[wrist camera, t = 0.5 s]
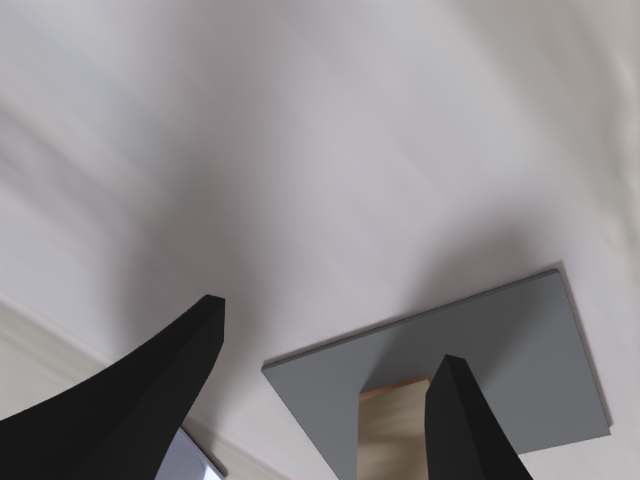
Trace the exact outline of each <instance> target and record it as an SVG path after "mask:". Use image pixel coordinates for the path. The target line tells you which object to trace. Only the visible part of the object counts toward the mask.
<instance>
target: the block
mask: <svg viewBox="0 0 640 480" xmlns="http://www.w3.org/2000/svg"><path fill="white" fill-rule="evenodd" d="M430 384H431V382H430V381H429V379H428V377H427V375H425V376H421V377H418V378H414V379H411V380H407V381H404V382H400V383H397V384H393V385H390V386H386V387H383V388H379V389H376V390H372V391H369V392H365V393H362V394H359V402H358V439H357V475H356V480H429V479H428V467H427V455H426V443H425V430H424V417H425V394H426V392H427V390H428V388H429V386H430Z"/></svg>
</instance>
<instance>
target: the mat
mask: <svg viewBox="0 0 640 480" xmlns="http://www.w3.org/2000/svg"><path fill="white" fill-rule="evenodd" d="M445 354H448V355H452V356H456V357H460V358H464V359H465V360H466V361H467V363H468V365H469V367H470V369H471V371H472V373H473V375H474V377H475V379H476V381H477V383H478V385H479V387H480V389H481V391H482V393H483V395H484V397H485V399H486V401H487V403H488V405H489V406H490V408H491V410H492V412H493V414H494V416H495V417H496V419H497V421H498V423H499V425H500V426H501V428H502V430H503V432H504V434H505V435H506V437H507V439H508V440H509V442H510V444H511V445H512V447H513V449H514V450H515V452H516V454H517V455H518V454H523V453H528V452H533V451H537V450H542V449H547V448H551V447H556V446H561V445H566V444H570V443H575V442H580V441H584V440H589V439H594V438H599V437H603V436H608V435H611V433H610V430H609V427H608V424H607V420H606V417H605V414H604V411H603V408H602V405H601V402H600V398H599V395H598V392H597V389H596V386H595V383H594V380H593V376H592V373H591V370H590V367H589V364H588V361H587V357H586V354H585V351H584V348H583V345H582V342H581V339H580V335H579V332H578V329H577V326H576V323H575V320H574V316H573V313H572V310H571V307H570V304H569V301H568V298H567V294H566V291H565V288H564V285H563V282H562V279H561V276H560V272H559V271H558V270H557V269H554V270H551V271H548V272H545V273H542V274H539V275H536V276H533V277H530V278H527V279H524V280H521V281H518V282H515V283H512V284H509V285H506V286H503V287H500V288H497V289H494V290H491V291H488V292H485V293H482V294H479V295H476V296H473V297H470V298H467V299H464V300H461V301H458V302H455V303H452V304H449V305H446V306H443V307H440V308H437V309H434V310H431V311H428V312H425V313H422V314H419V315H416V316H413V317H410V318H407V319H404V320H401V321H398V322H395V323H392V324H389V325H386V326H383V327H380V328H377V329H374V330H371V331H368V332H365V333H362V334H359V335H356V336H353V337H350V338H347V339H344V340H341V341H338V342H335V343H332V344H329V345H326V346H323V347H320V348H317V349H314V350H311V351H308V352H305V353H302V354H299V355H296V356H293V357H290V358H287V359H284V360H281V361H278V362H275V363H272V364H269V365H266V366H263V367H262V369H261V372H262V373H263V374H264V376H265V377H266V379H267V380H268V381H269V383H270V384H271V386H272V387H273V388H274V390H275V391H276V393H277V394H278V395H279V397H280V398H281V399H282V401H283V402H284V404H285V405H286V406H287V408H288V409H289V411H290V412H291V413H292V415H293V416H294V418H295V419H296V420H297V422H298V423H299V425H300V426H301V427H302V429H303V430H304V432H305V433H306V434H307V436H308V437H309V439H310V440H311V441H312V443H313V444H314V445H315V447H316V448H317V450H318V451H319V452H320V454H321V455H322V457H323V458H324V459H325V461H326V462H327V464H328V465H329V466H330V468H331V469H332V471H333V472H334V473H335V475H336V476H337V478H338V479H339V480H356V475H357V439H358V402H359V394H362V393H365V392H369V391H372V390H376V389H379V388H383V387H386V386H390V385H393V384H397V383H400V382H404V381H407V380H411V379H414V378H418V377H421V376H425V375H427V377H428V379H429V381H430V382H432V380H433V378H434V376H435V374H436V372H437V370H438V368H439V366H440V364H441V362H442V360H443V358H444V356H445Z"/></svg>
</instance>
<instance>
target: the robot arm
mask: <svg viewBox="0 0 640 480" xmlns="http://www.w3.org/2000/svg"><path fill="white" fill-rule="evenodd" d="M224 319H225V299H224V298H220V297H216V296H212V295H208V294H207V295H205V296H204V297H202V298H201V299H200V300H199V301H198V302H197V303H195V304H194V305H193V306H192V307H191V308H189V309H188V310H187V311H186V312H185V313H183V314H182V315H181V316H180V317H178V318H177V319H176V320H175V321H173V322H172V323H171V324H170V325H168V326H167V327H166V328H164V329H163V330H162V331H160V332H159V333H158V334H157V335H155V336H154V337H152V338H151V339H150V340H148V341H147V342H145V343H144V344H143V345H141V346H140V347H138V348H137V349H135V350H134V351H132V352H131V353H130V354H128V355H127V356H125V357H123V358H122V359H120V360H119V361H117V362H116V363H114V364H112V365H111V366H109V367H108V368H106V369H104V370H102V371H101V372H99V373H97V374H96V375H94V376H92V377H90V378H89V379H87V380H85V381H83V382H81V383H79V384H77V385H76V386H74V387H72V388H70V389H68V390H66V391H64V392H62V393H60V394H58V395H56V396H54V397H52V398H50V399H48V400H46V401H44V402H41V403H39V404H37V405H35V406H33V407H31V408H28V409H26V410H24V411H22V412H20V413H17V414H15V415H13V416H10V417H8V418H6V419H3V420H1V421H0V480H226V479H225V478H224V477H223V475H222V474H221V473H220V472H219V471H218V470H217V469H216V467H215V466H214V465H213V464H212V463H211V462H210V461H209V459H208V458H207V457H206V456H205V455H204V454H203V453H202V451H201V450H200V449H199V448H198V447H197V446H196V445H195V443H194V442H193V441H192V440H191V439H190V438H189V437H188V435H187V434H186V433H185V432H184V431H183V430H182V429H181V427H180V426H181V424H182V422H183V420H184V419H185V417H186V415H187V413H188V412H189V410H190V408H191V406H192V405H193V403H194V401H195V399H196V398H197V396H198V394H199V392H200V390H201V389H202V387H203V385H204V383H205V382H206V380H207V378H208V376H209V374H210V373H211V371H212V368H213V366H214V364H215V362H216V359H217V357H218V354H219V352H220V350H221V347H222V345H223V342H224ZM424 430H425V443H426V455H427V467H428V479H429V480H533V478H532V477H531V475H530V474H529V472H528V471H527V469H526V468H525V466H524V465H523V463H522V462H521V460H520V458H519V457H518V455H517V454H516V452H515V450H514V449H513V447H512V445H511V444H510V442H509V440H508V439H507V437H506V435H505V434H504V432H503V430H502V428H501V426H500V425H499V423H498V421H497V419H496V417H495V416H494V414H493V412H492V410H491V408H490V406H489V405H488V403H487V401H486V399H485V397H484V395H483V393H482V391H481V389H480V387H479V385H478V383H477V381H476V379H475V377H474V375H473V373H472V371H471V369H470V367H469V365H468V363H467V361H466V360H465V359H464V358H460V357H456V356H452V355H448V354H445V356H444V358H443V360H442V362H441V364H440V366H439V368H438V370H437V372H436V374H435V376H434V378H433V380H432V382H431V384H430V386H429V388H428V390H427V392H426V394H425V417H424Z"/></svg>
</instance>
